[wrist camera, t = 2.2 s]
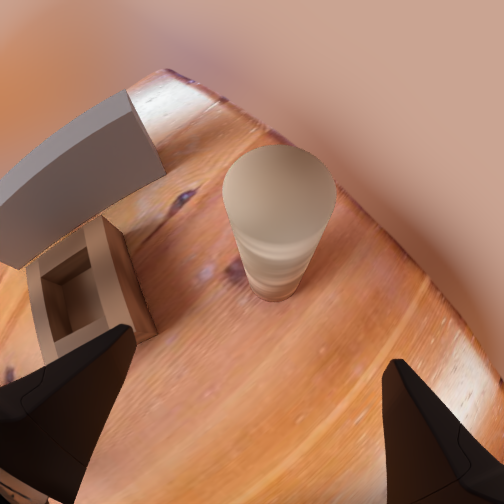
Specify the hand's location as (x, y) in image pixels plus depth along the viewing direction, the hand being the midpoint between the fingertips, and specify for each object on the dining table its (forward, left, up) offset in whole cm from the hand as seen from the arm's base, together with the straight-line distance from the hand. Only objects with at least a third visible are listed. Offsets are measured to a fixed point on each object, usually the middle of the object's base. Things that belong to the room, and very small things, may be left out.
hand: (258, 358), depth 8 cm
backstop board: (+24, -4, -12) cm, 27 cm away
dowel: (+1, -6, -12) cm, 13 cm away
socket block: (+15, +3, -12) cm, 20 cm away
